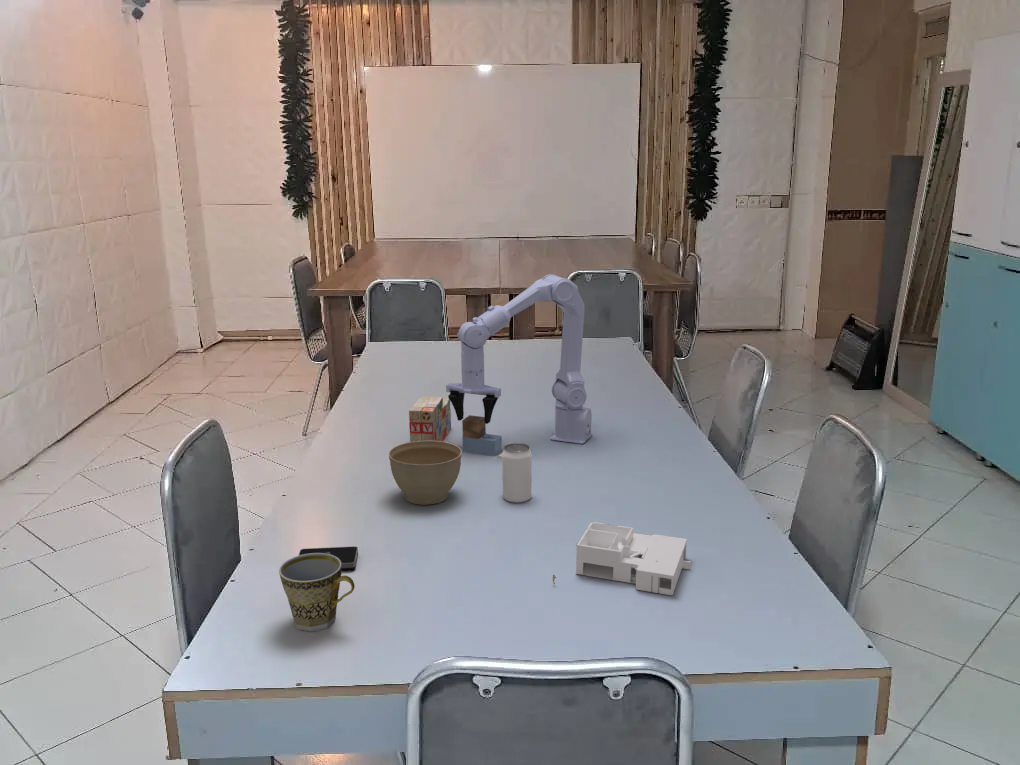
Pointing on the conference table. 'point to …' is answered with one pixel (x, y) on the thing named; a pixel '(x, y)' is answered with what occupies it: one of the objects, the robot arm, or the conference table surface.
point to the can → (517, 473)
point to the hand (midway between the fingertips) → (474, 421)
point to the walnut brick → (473, 427)
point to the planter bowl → (425, 469)
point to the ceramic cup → (313, 589)
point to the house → (631, 557)
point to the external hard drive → (338, 555)
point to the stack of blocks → (430, 419)
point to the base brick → (483, 445)
